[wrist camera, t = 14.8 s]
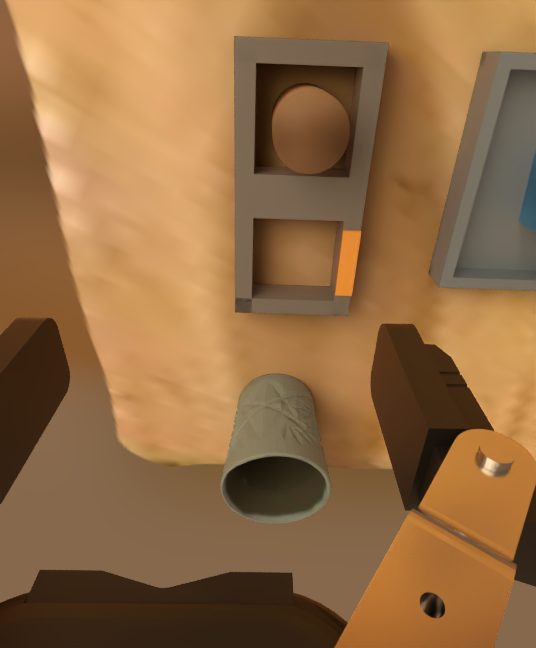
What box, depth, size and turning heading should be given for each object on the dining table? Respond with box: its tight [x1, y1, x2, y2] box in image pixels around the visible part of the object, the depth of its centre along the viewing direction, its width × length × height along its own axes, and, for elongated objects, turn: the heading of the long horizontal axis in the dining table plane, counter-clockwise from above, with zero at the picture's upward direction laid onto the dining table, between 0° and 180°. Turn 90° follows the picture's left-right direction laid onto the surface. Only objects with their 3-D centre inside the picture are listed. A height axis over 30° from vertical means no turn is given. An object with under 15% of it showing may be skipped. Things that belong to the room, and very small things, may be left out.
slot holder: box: [234, 36, 389, 316], centre depth 37 cm, size 22×10×3 cm, turn 178°
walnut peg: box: [272, 83, 350, 174], centre depth 32 cm, size 5×5×8 cm
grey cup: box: [220, 374, 331, 524], centre depth 46 cm, size 10×10×12 cm
